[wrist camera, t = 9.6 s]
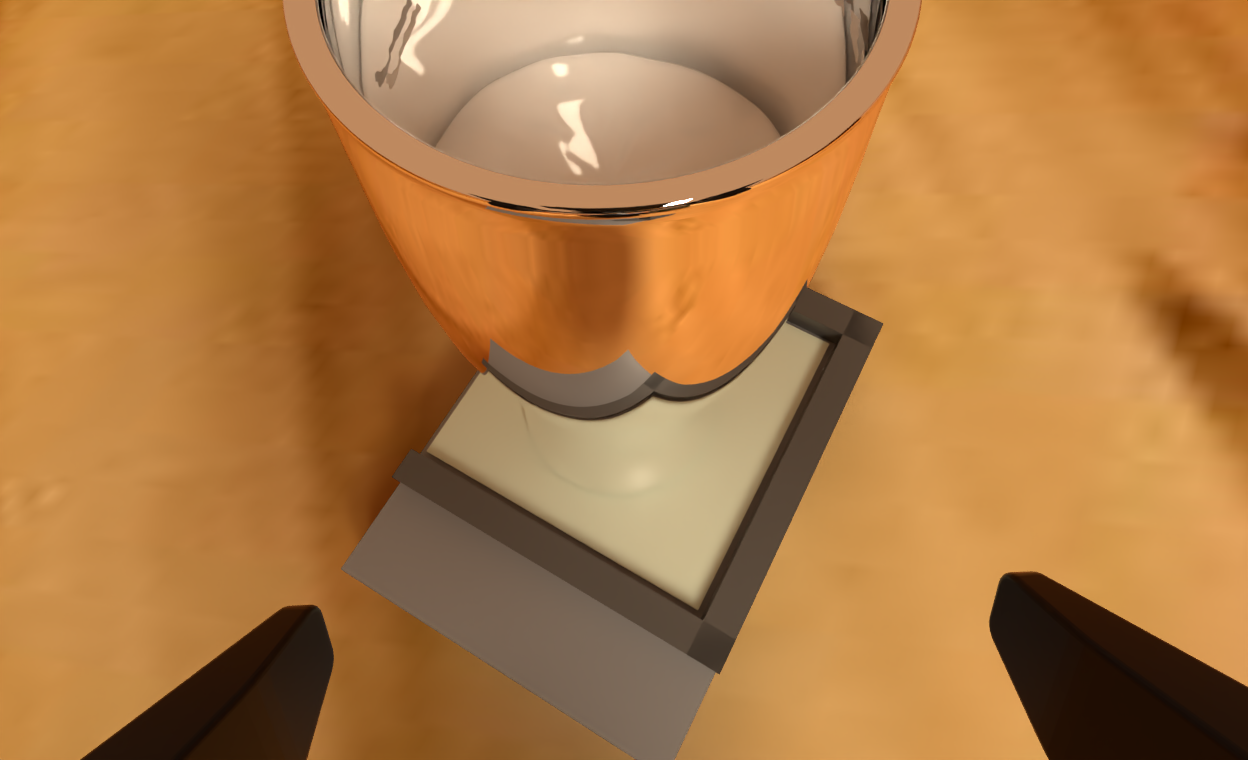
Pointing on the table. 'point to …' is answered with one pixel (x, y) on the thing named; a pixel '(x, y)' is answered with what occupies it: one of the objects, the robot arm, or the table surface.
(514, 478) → the dock
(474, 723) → the table surface
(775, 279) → the beer glass
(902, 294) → the table surface
